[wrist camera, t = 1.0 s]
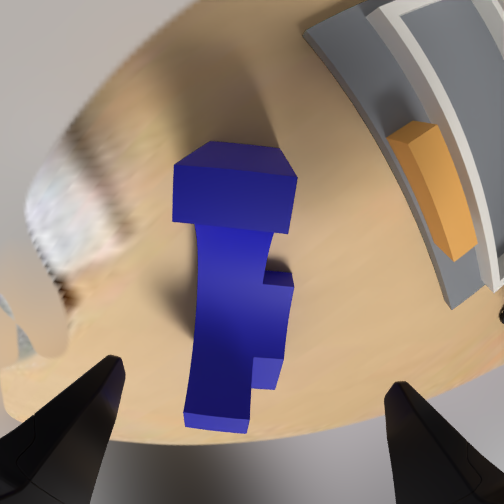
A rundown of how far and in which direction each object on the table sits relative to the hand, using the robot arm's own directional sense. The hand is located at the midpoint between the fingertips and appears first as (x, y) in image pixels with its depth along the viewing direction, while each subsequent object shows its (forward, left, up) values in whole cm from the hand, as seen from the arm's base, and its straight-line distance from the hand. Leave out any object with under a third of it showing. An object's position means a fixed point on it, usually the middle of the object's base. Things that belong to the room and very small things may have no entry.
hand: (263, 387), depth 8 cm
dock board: (-14, -13, -7) cm, 20 cm away
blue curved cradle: (+1, 0, -8) cm, 8 cm away
